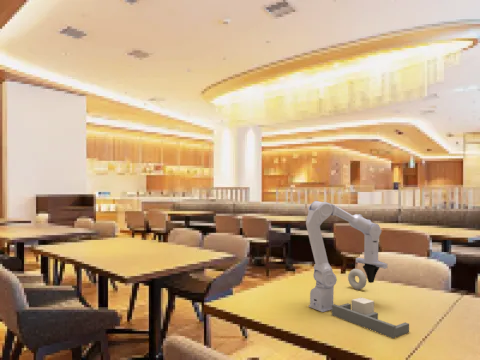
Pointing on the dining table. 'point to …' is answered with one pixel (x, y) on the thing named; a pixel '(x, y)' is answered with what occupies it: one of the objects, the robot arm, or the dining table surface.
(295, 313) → the dining table surface
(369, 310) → the beige cube
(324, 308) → the robot arm
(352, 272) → the donut
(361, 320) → the comb rack
